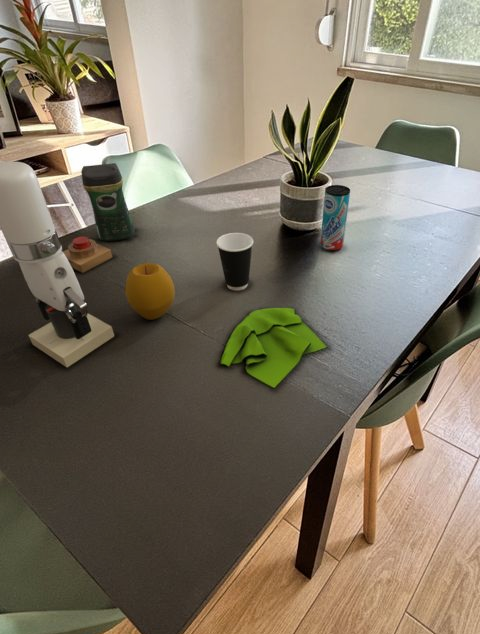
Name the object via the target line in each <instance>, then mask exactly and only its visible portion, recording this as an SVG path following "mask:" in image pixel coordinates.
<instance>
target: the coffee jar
mask: <svg viewBox="0 0 480 634" xmlns="http://www.w3.org/2000/svg"><path fill="white" fill-rule="evenodd" d="M120 171H121V170H120V169H119V167H118V164H117V163H116V162H115V163H114V162H112V163H103V164H92V165H84V166H82V168H81V172H80V173H81V180H82V181H81V182H82V186H83V188H84V191H85V192H86V193H87V195H88V197H89V200H90V204H91V208H92V212H93V218H94V223H95V227H96V231H97V232H96V233H97V235H98V238H99V239H100V240H101V241H103V242H114V241H121V240H127V239H130V238H132V237H133V236H134V235H135V232H136V230H135V225H134V222H133V220H132V216H131V213H130V211H129V208H128V205H127V202H126V198H125V195H124V191H123V186H124V181H123V176H122V174H121V172H120Z"/></svg>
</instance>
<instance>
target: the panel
mask: <svg viewBox="0 0 480 634" xmlns="http://www.w3.org/2000/svg"><path fill="white" fill-rule="evenodd" d="M87 319H88V321H89V324H90V327H91V332H90V333H88V334H87V335H85V336H83V337H82V338H80V339H76V338H75V337H73V338H69V339H63V338H60V337H58V336H57V334H56V332H55V330H54V328H53V325H52V323H51V321H50V322H49V323H46V324H45V325H43V326H42V327H39V328H37V329H36V330H34V331H33V332H30V333H29V334H28V335H27V336H28V337H29V339H30V342H31V344H32V345H33V346H34V347H35V348H37V349H38V350H40V351H42V352H43V353H44V354H46V355H47V356H49V357H50V358H52V359H53V360H55V361H56V362H58V363H60V364H61V365H62V366H64V367H66V368H69V367H71V366H72V365H73V364H75V363H77V362H78V361H79V360H81V359H83V358H84V357H86V356H87V355H88V354H90V353H92V352H93V351H94V350H96V349H97V348H99V347H101V346H102V345H103V344H106V343H107V342H108V341H110V340H111V339H113V338H114V337H115V332H114V330H113V326H112V325H110V324H108V323H106V322H104V321H103V320H101V319H99V318H98V317H95V316H94V315H92V314H90V313H88V314H87Z"/></svg>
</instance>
